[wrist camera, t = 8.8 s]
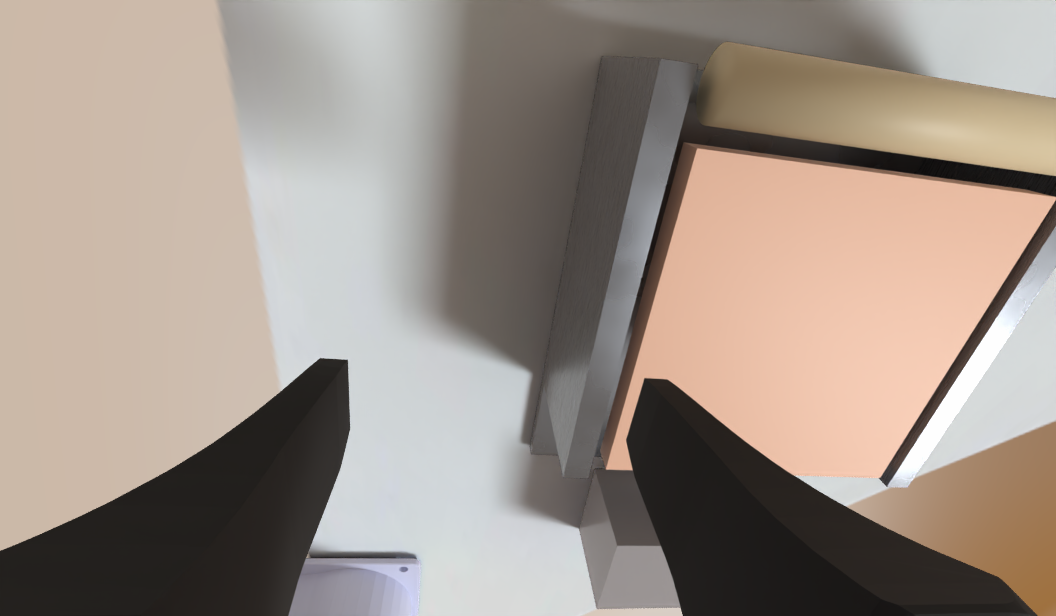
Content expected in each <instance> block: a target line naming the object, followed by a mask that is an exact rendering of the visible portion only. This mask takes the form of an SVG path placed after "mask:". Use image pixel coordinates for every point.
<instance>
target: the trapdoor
mask: <svg viewBox="0 0 1056 616" xmlns="http://www.w3.org/2000/svg"><path fill="white" fill-rule="evenodd" d="M696 111H697V117H698V120H699V122H700V123H701V124H702V125H705V126H712V127H719V128H726V129H732V130H739V131H746V132H753V133H760V134H767V135H774V136H781V137H788V138H795V139H802V140H809V141H816V142H823V143H830V144H837V145H843V146H850V147H857V148H864V149H871V150H878V151H885V152H892V153H899V154H906V155H913V156H920V157H927V158H934V159H941V160H948V161H954V162H961V163H968V164H975V165H982V166H989V167H996V168H1003V169H1010V170H1017V171H1024V172H1031V173H1038V174H1045V175H1052V176H1056V98H1051V97H1045V96H1040V95H1034V94H1028V93H1022V92H1016V91H1011V90H1005V89H999V88H993V87H987V86H982V85H976V84H970V83H964V82H959V81H953V80H947V79H941V78H935V77H930V76H924V75H918V74H912V73H906V72H901V71H895V70H889V69H883V68H877V67H872V66H866V65H860V64H854V63H849V62H843V61H837V60H831V59H825V58H820V57H814V56H808V55H802V54H796V53H791V52H785V51H779V50H773V49H767V48H762V47H756V46H750V45H744V44H738V43H733V42H724V43H722V44H721V45H720V46H719V47H718V48H717V49H716V50H715V51H714V52H713V54H712V55H711V57H710V59H709V60H708V62H707V64H706V67H705V69H704V71H703V74H702V77H701V80H700V84H699V88H698V93H697V101H696ZM1055 200H1056V197H1054V196H1050V195H1046V194H1042V193H1038V192H1034V191H1030V190H1026V189H1019V188H1012V187H1004V186H997V185H990V184H982V183H975V182H968V181H961V180H953V179H946V178H939V177H932V176H924V175H917V174H910V173H903V172H895V171H888V170H881V169H874V168H866V167H859V166H852V165H844V164H837V163H830V162H823V161H815V160H808V159H801V158H794V157H786V156H779V155H772V154H765V153H757V152H750V151H743V150H736V149H728V148H721V147H714V146H706V145H699V144H692V143H685V142H684V143H683V146H682V150H681V154H680V157H679V161H678V165H677V168H676V172H675V176H674V179H673V183H672V187H671V191H670V194H669V198H668V202H667V205H666V209H665V213H664V216H663V220H662V224H661V227H660V231H659V235H658V239H657V242H656V246H655V250H654V253H653V257H652V261H651V264H650V268H649V272H648V275H647V279H646V283H645V287H644V290H643V294H642V298H641V301H640V305H639V309H638V312H637V316H636V320H635V323H634V327H633V331H632V335H631V338H630V342H629V346H628V349H627V353H626V357H625V360H624V364H623V368H622V371H621V375H620V379H619V383H618V386H617V390H616V394H615V397H614V401H613V405H612V408H611V412H610V416H609V419H608V423H607V427H606V430H605V434H604V438H603V442H602V445H601V449H600V452H601V456H602V459H603V462H604V465H605V468H606V470H633V469H632V465H631V461H630V457H629V452H628V447H627V443H626V438H627V435H628V432H629V428H630V425H631V422H632V418H633V415H634V411H635V408H636V405H637V401H638V398H639V395H640V391H641V388H642V385H643V381H644V378H653V379H668V380H669V381H670V382H672V383H673V384H675V385H676V386H677V387H679V388H680V389H681V390H682V391H684V392H685V393H686V394H687V395H689V396H690V397H691V398H692V399H693V400H695V401H696V402H697V403H698V404H700V405H701V406H702V407H703V408H704V409H706V410H707V411H708V412H709V413H710V414H712V415H713V416H714V417H715V418H716V419H718V420H719V421H720V422H721V423H723V424H724V425H725V426H726V427H728V428H729V429H730V430H731V431H733V432H734V433H735V434H736V435H738V436H739V437H740V438H742V439H743V440H744V441H746V442H747V443H748V444H750V445H751V446H752V447H754V448H755V449H756V450H758V451H759V452H760V453H762V454H763V455H765V456H766V457H767V458H769V459H770V460H771V461H773V462H774V463H776V464H777V465H779V466H780V467H782V468H783V469H785V470H786V471H788V472H789V473H791V474H792V475H799V476H831V477H863V478H880V477H881V476H882V474H883V473H884V471H885V469H886V468H887V466H888V465H889V463H890V461H891V460H892V458H893V457H894V455H895V454H896V452H897V450H898V449H899V447H900V446H901V444H902V443H903V441H904V439H905V438H906V436H907V435H908V433H909V431H910V430H911V428H912V427H913V425H914V424H915V422H916V420H917V419H918V417H919V416H920V414H921V412H922V411H923V409H924V408H925V406H926V405H927V403H928V401H929V400H930V398H931V397H932V395H933V393H934V392H935V390H936V389H937V387H938V386H939V384H940V382H941V381H942V379H943V378H944V376H945V374H946V373H947V371H948V370H949V368H950V367H951V365H952V363H953V362H954V360H955V359H956V357H957V355H958V354H959V352H960V351H961V349H962V348H963V346H964V344H965V343H966V341H967V340H968V338H969V336H970V335H971V333H972V332H973V330H974V329H975V327H976V325H977V324H978V322H979V321H980V319H981V317H982V316H983V314H984V313H985V311H986V310H987V308H988V306H989V305H990V303H991V302H992V300H993V298H994V297H995V295H996V294H997V292H998V291H999V289H1000V287H1001V286H1002V284H1003V283H1004V281H1005V279H1006V278H1007V276H1008V275H1009V273H1010V272H1011V270H1012V268H1013V267H1014V265H1015V264H1016V262H1017V260H1018V259H1019V257H1020V256H1021V254H1022V253H1023V251H1024V249H1025V248H1026V246H1027V245H1028V243H1029V241H1030V240H1031V238H1032V237H1033V235H1034V234H1035V232H1036V230H1037V229H1038V227H1039V226H1040V224H1041V222H1042V221H1043V219H1044V218H1045V216H1046V215H1047V213H1048V211H1049V210H1050V208H1051V207H1052V205H1053V204H1054V202H1055Z"/></svg>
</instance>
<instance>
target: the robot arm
mask: <svg viewBox="0 0 1056 616" xmlns="http://www.w3.org/2000/svg"><path fill="white" fill-rule="evenodd" d="M349 431H350V413H349V382H348V360H340V359H324V358H320V359H319V360H317V361H316V362H315V363H314V364H313V365H311V366H310V367H309V368H308V369H307V370H305V371H304V372H303V373H302V374H301V375H300V376H298V377H297V378H296V379H295V380H294V381H293V382H291V383H290V384H289V385H288V386H287V387H286V388H284V389H283V390H282V391H281V392H280V393H279V394H277V395H276V396H275V397H273V398H272V399H271V400H270V401H269V402H267V403H266V404H265V405H264V406H262V407H261V408H260V409H259V410H257V411H256V412H255V413H254V414H252V415H251V416H250V417H248V418H247V419H246V420H244V421H243V422H241V423H240V424H239V425H238V426H236V427H235V428H233V429H232V430H231V431H229V432H228V433H226V434H225V435H224V436H222V437H221V438H219V439H218V440H217V441H215V442H214V443H212V444H211V445H209V446H207V447H206V448H204V449H203V450H201V451H200V452H198V453H197V454H195V455H193V456H192V457H190V458H188V459H187V460H185V461H184V462H182V463H180V464H179V465H177V466H175V467H174V468H172V469H170V470H168V471H167V472H165V473H163V474H161V475H159V476H158V477H156V478H154V479H152V480H150V481H149V482H146V483H144V484H143V485H141V486H139V487H137V488H135V489H133V490H131V491H130V492H128V493H126V494H124V495H122V496H120V497H118V498H117V499H115V500H113V501H111V502H109V503H107V504H105V505H103V506H101V507H98V508H96V509H94V510H92V511H90V512H88V513H86V514H84V515H82V516H80V517H78V518H75V519H73V520H71V521H69V522H67V523H64V524H62V525H60V526H58V527H56V528H53V529H51V530H49V531H47V532H44V533H42V534H40V535H38V536H35V537H33V538H31V539H28V540H26V541H23V542H21V543H19V544H16V545H14V546H12V547H9V548H7V549H4V550H1V551H0V616H418V605H419V589H420V573H421V562H420V561H419V560H417V559H413V558H306V557H307V554H308V551H309V549H310V546H311V544H312V541H313V538H314V536H315V533H316V531H317V528H318V526H319V523H320V520H321V518H322V515H323V513H324V510H325V507H326V505H327V502H328V500H329V497H330V494H331V492H332V489H333V487H334V484H335V481H336V479H337V476H338V473H339V471H340V468H341V464H342V460H343V456H344V452H345V448H346V444H347V439H348V435H349ZM626 443H627V447H628V452H629V457H630V461H631V465H632V469H633V473H634V477H635V480H636V482H637V485H638V488H639V490H640V493H641V496H642V498H643V501H644V504H645V506H646V509H647V512H648V514H649V517H650V519H651V522H652V524H653V527H654V530H655V532H656V535H657V537H658V540H659V542H660V545H661V548H662V550H663V553H664V555H665V558H666V561H667V564H668V567H669V569H670V572H671V575H672V578H673V582H674V585H675V589H676V592H677V596H678V600H679V603H680V607H681V611H682V614H683V616H1037V615H1036V614H1035V613H1034V612H1033V611H1032V609H1031V608H1029V606H1027V605H1026V603H1025V602H1024V601H1023V600H1022V599H1021V598H1020V597H1019V596H1018V595H1017V594H1016V593H1015V592H1014V591H1013V590H1012V589H1011V588H1010V587H1009V586H1008V585H1007V584H1006V583H1005V582H1003V581H1002V580H1001V579H1000V578H999V577H997V576H994V575H992V574H990V573H987V572H984V571H982V570H980V569H978V568H975V567H973V566H970V565H968V564H965V563H963V562H961V561H958V560H956V559H953V558H951V557H949V556H946V555H944V554H941V553H939V552H937V551H934V550H932V549H930V548H927V547H925V546H923V545H921V544H919V543H917V542H915V541H913V540H910V539H908V538H906V537H904V536H902V535H900V534H898V533H896V532H894V531H891V530H889V529H887V528H885V527H883V526H881V525H879V524H877V523H875V522H873V521H872V520H869V519H868V518H866V517H864V516H862V515H860V514H858V513H856V512H855V511H853V510H851V509H849V508H847V507H846V506H844V505H842V504H840V503H838V502H837V501H835V500H833V499H831V498H829V497H828V496H826V495H824V494H823V493H821V492H819V491H818V490H816V489H814V488H813V487H811V486H810V485H808V484H806V483H805V482H803V481H802V480H800V479H799V478H797V477H795V476H794V475H792V474H791V473H789V472H788V471H786V470H785V469H783V468H782V467H780V466H779V465H777V464H776V463H774V462H773V461H771V460H770V459H769V458H767V457H766V456H765V455H763V454H762V453H760V452H759V451H758V450H756V449H755V448H754V447H752V446H751V445H750V444H748V443H747V442H746V441H744V440H743V439H742V438H740V437H739V436H738V435H736V434H735V433H734V432H733V431H731V430H730V429H729V428H728V427H726V426H725V425H724V424H723V423H721V422H720V421H719V420H718V419H716V418H715V417H714V416H713V415H712V414H710V413H709V412H708V411H707V410H706V409H704V408H703V407H702V406H701V405H700V404H698V403H697V402H696V401H695V400H693V399H692V398H691V397H690V396H689V395H687V394H686V393H685V392H684V391H682V390H681V389H680V388H679V387H677V386H676V385H675V384H673V383H672V382H670V381H669V380H668V379H653V378H644V381H643V385H642V388H641V391H640V395H639V398H638V401H637V405H636V408H635V411H634V415H633V418H632V422H631V425H630V428H629V432H628V435H627V438H626Z"/></svg>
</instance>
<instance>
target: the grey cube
mask: <svg viewBox="0 0 1056 616" xmlns="http://www.w3.org/2000/svg"><path fill="white" fill-rule="evenodd" d="M579 531H580V535H581V540H582V544H583V549H584V553H585V558H586V563H587V567H588V572H589V576H590V581H591V585H592V590H593V594H594V599H595V603H596V608H597V609H623V608H677V607H679V608H680V603H679V600H678V596H677V592H676V589H675V585H674V582H673V578H672V575H671V572H670V569H669V567H668V564H667V561H666V558H665V555H664V553H663V550H662V548H661V545H660V542H659V540H658V537H657V535H656V532H655V530H654V527H653V524H652V522H651V519H650V517H649V514H648V512H647V509H646V506H645V504H644V501H643V498H642V496H641V493H640V490H639V488H638V485H637V482H636V480H635V477H634V473H633V470H606V469H595V470H594V474H593V478H592V481H591V485H590V489H589V493H588V497H587V500H586V504H585V508H584V512H583V515H582V519H581V523H580V527H579Z"/></svg>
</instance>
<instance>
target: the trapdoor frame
mask: <svg viewBox="0 0 1056 616" xmlns="http://www.w3.org/2000/svg"><path fill="white" fill-rule="evenodd" d="M697 67H698V64H692V63H686V62H680V61H674V60H668V59H662V58H636V57H608V56H602V59H601V64H600V70H599V75H598V81H597V86H596V91H595V97H594V102H593V108H592V113H591V118H590V124H589V129H588V135H587V140H586V145H585V151H584V156H583V162H582V167H581V172H580V178H579V183H578V189H577V194H576V200H575V205H574V210H573V216H572V221H571V227H570V232H569V237H568V243H567V248H566V254H565V259H564V264H563V270H562V275H561V281H560V286H559V292H558V297H557V302H556V308H555V313H554V319H553V324H552V329H551V335H550V340H549V346H548V351H547V356H546V362H545V367H544V373H543V378H542V384H541V389H540V394H539V400H538V405H537V411H536V416H535V421H534V427H533V432H532V438H531V443H530V451H531V454H537V455H558V456H559V461H560V465H561V470H562V475H563V478H589V474H590V470H591V466H592V463H593V459H594V457H602V456H601V452H600V449H601V445H602V442H603V438H604V434H605V430H606V427H607V423H608V419H609V416H610V412H611V408H612V405H613V401H614V397H615V394H616V390H617V386H618V383H619V379H620V375H621V371H622V368H623V364H624V360H625V357H626V353H627V349H628V346H629V342H630V338H631V335H632V331H633V327H634V323H635V320H636V316H637V312H638V309H639V305H640V301H641V298H642V294H643V290H644V287H645V283H646V279H647V275H648V272H649V268H650V264H651V261H652V257H653V253H654V250H655V246H656V242H657V239H658V235H659V231H660V227H661V224H662V220H663V216H664V213H665V209H666V205H667V202H668V198H669V194H670V191H671V187H672V183H673V179H674V176H675V172H676V168H677V165H678V161H679V157H680V154H681V150H682V146H683V143H684V142H685V143H692V144H699V145H706V146H714V147H721V148H728V149H736V150H743V151H750V152H757V153H765V154H772V155H779V156H786V157H794V158H801V159H808V160H815V161H823V162H830V163H837V164H844V165H852V166H859V167H866V168H874V169H881V170H888V171H895V172H903V173H910V174H917V175H924V176H932V177H939V178H946V179H953V180H961V181H968V182H975V183H982V184H990V185H997V186H1004V187H1012V188H1019V189H1026V190H1030V191H1034V192H1038V193H1042V194H1046V195H1050V196H1054V197H1056V176H1052V175H1045V174H1038V173H1031V172H1024V171H1017V170H1010V169H1003V168H996V167H989V166H982V165H975V164H968V163H961V162H954V161H948V160H941V159H934V158H927V157H920V156H913V155H906V154H899V153H892V152H885V151H878V150H871V149H864V148H857V147H850V146H843V145H837V144H830V143H823V142H816V141H809V140H802V139H795V138H788V137H781V136H774V135H767V134H760V133H753V132H746V131H739V130H732V129H726V128H719V127H712V126H705V125H702V124H701V123H700V122H699V120H698V117H697V111H696V101H697V93H698V88H699V84H700V80H701V77H702V74H703V71H704V70H698V69H697ZM1055 268H1056V200H1055V202H1054V204H1053V205H1052V207H1051V208H1050V210H1049V211H1048V213H1047V215H1046V216H1045V218H1044V219H1043V221H1042V222H1041V224H1040V226H1039V227H1038V229H1037V230H1036V232H1035V234H1034V235H1033V237H1032V238H1031V240H1030V241H1029V243H1028V245H1027V246H1026V248H1025V249H1024V251H1023V253H1022V254H1021V256H1020V257H1019V259H1018V260H1017V262H1016V264H1015V265H1014V267H1013V268H1012V270H1011V272H1010V273H1009V275H1008V276H1007V278H1006V279H1005V281H1004V283H1003V284H1002V286H1001V287H1000V289H999V291H998V292H997V294H996V295H995V297H994V298H993V300H992V302H991V303H990V305H989V306H988V308H987V310H986V311H985V313H984V314H983V316H982V317H981V319H980V321H979V322H978V324H977V325H976V327H975V329H974V330H973V332H972V333H971V335H970V336H969V338H968V340H967V341H966V343H965V344H964V346H963V348H962V349H961V351H960V352H959V354H958V355H957V357H956V359H955V360H954V362H953V363H952V365H951V367H950V368H949V370H948V371H947V373H946V374H945V376H944V378H943V379H942V381H941V382H940V384H939V386H938V387H937V389H936V390H935V392H934V393H933V395H932V397H931V398H930V400H929V401H928V403H927V405H926V406H925V408H924V409H923V411H922V412H921V414H920V416H919V417H918V419H917V420H916V422H915V424H914V425H913V427H912V428H911V430H910V431H909V433H908V435H907V436H906V438H905V439H904V441H903V443H902V444H901V446H900V447H899V449H898V450H897V452H896V454H895V455H894V457H893V458H892V460H891V461H890V463H889V465H888V466H887V468H886V469H885V471H884V473H883V474H882V476H881V477H880V478H879V479H880V480H881V481H882V482H883V483H884V484H885V485H886V486H887V487H908V486H909V484H910V483H911V481H912V480H913V478H914V477H915V475H916V474H917V472H918V471H919V470H920V468H921V467H922V465H923V464H924V462H925V461H926V459H927V458H928V456H929V455H930V453H931V452H932V450H933V449H934V447H935V446H936V444H937V443H938V441H939V440H940V438H941V437H942V435H943V434H944V432H945V431H946V429H947V428H948V427H949V425H950V424H951V422H952V421H953V419H954V418H955V416H956V415H957V413H958V412H959V410H960V409H961V407H962V406H963V404H964V403H965V401H966V400H967V398H968V397H969V395H970V394H971V392H972V391H973V389H974V388H975V386H976V385H977V383H978V382H979V381H980V379H981V378H982V376H983V375H984V373H985V372H986V370H987V369H988V367H989V366H990V364H991V363H992V361H993V360H994V358H995V357H996V355H997V354H998V352H999V351H1000V349H1001V348H1002V346H1003V345H1004V343H1005V342H1006V340H1007V339H1008V337H1009V336H1010V335H1011V333H1012V332H1013V330H1014V329H1015V327H1016V326H1017V324H1018V323H1019V321H1020V320H1021V318H1022V317H1023V315H1024V314H1025V312H1026V311H1027V309H1028V308H1029V306H1030V305H1031V303H1032V302H1033V300H1034V299H1035V297H1036V296H1037V294H1038V293H1039V292H1040V290H1041V289H1042V287H1043V286H1044V284H1045V283H1046V281H1047V280H1048V278H1049V277H1050V275H1051V274H1052V272H1053V271H1054V269H1055Z"/></svg>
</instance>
